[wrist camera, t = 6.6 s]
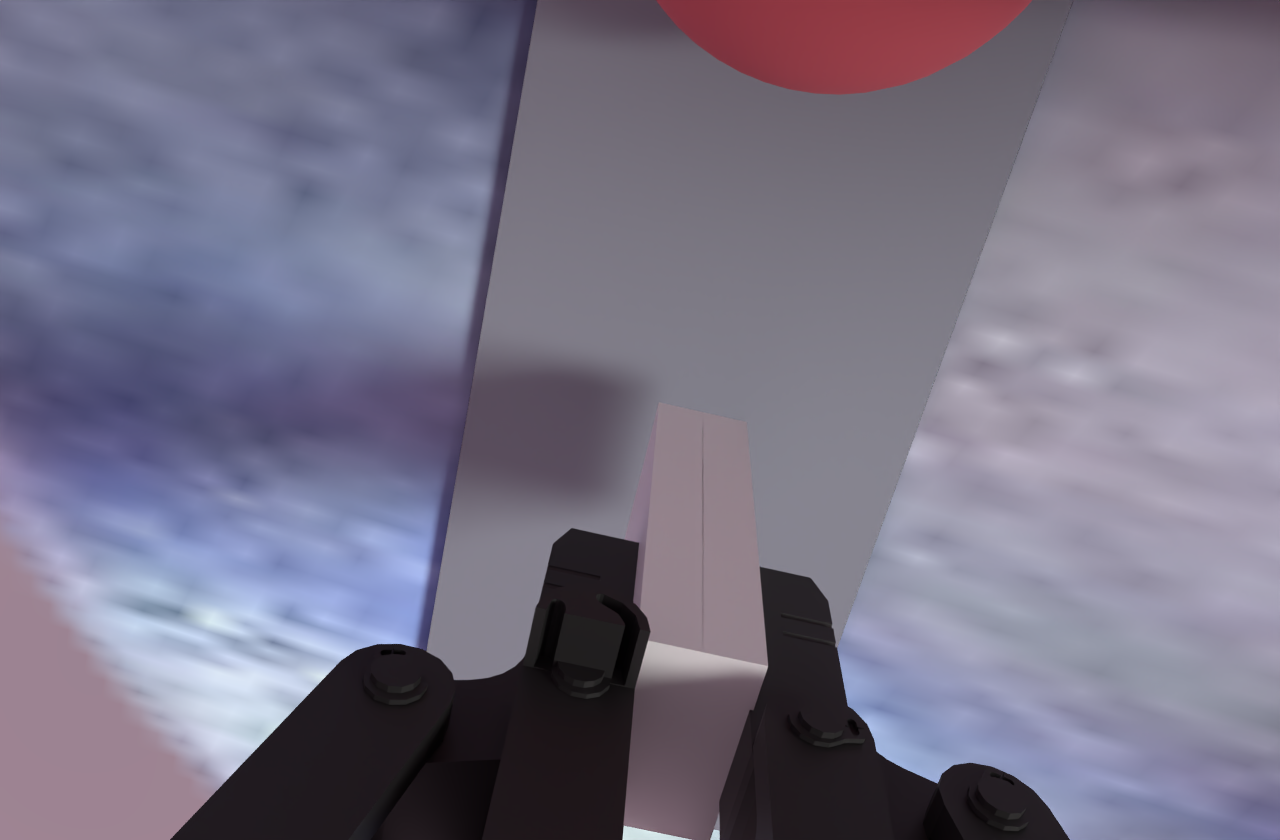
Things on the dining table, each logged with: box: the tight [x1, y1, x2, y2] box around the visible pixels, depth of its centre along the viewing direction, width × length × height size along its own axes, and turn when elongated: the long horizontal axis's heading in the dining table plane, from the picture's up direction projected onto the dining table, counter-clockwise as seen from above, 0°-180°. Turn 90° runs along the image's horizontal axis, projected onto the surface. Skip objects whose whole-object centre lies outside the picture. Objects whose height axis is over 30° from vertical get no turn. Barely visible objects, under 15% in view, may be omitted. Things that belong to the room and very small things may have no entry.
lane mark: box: [426, 0, 1073, 830], centre depth 18 cm, size 28×8×1 cm, turn 168°
